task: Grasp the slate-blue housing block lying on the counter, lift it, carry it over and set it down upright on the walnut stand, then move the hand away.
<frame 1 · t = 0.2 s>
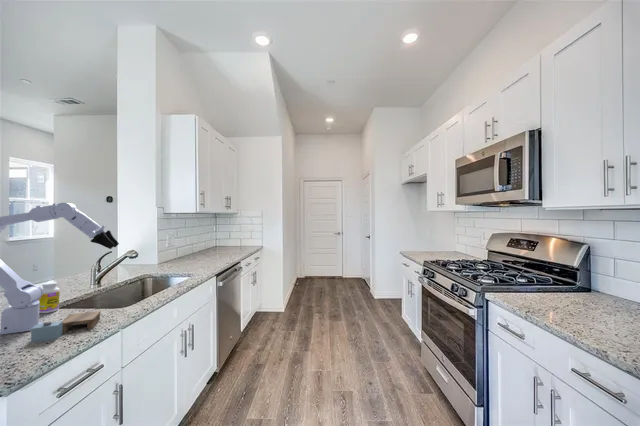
hand: (115, 246, 115), 31 cm above the countertop, tool tilted 45°, fingers open, 7 cm apart
stand: (81, 325, 107), on the countertop
housing: (47, 338, 96), on the countertop
supplement bottle: (49, 311, 121), on the countertop
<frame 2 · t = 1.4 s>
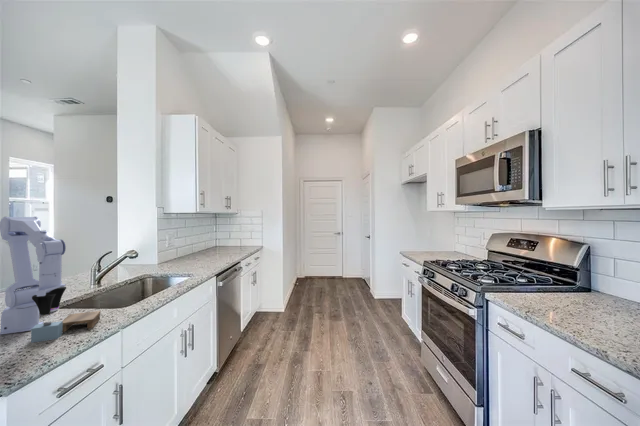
hand: (49, 311, 96), 10 cm above the countertop, tool pointing down, fingers open, 7 cm apart
nothing on the countertop moved.
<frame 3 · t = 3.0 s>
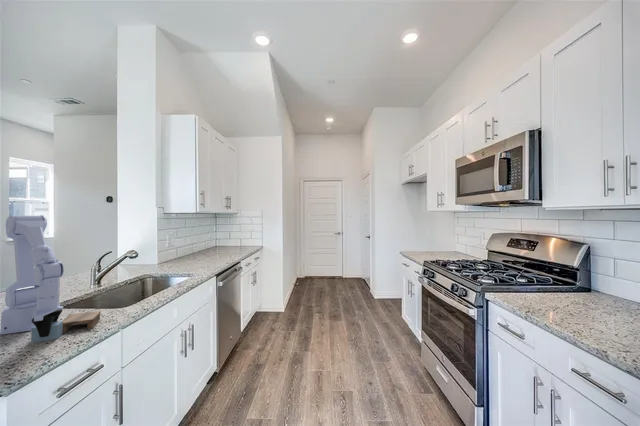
hand: (47, 333, 96), 2 cm above the countertop, tool pointing down, fingers closed on housing, 4 cm apart
housing: (47, 338, 96), on the countertop, touching gripper
everything else where it was.
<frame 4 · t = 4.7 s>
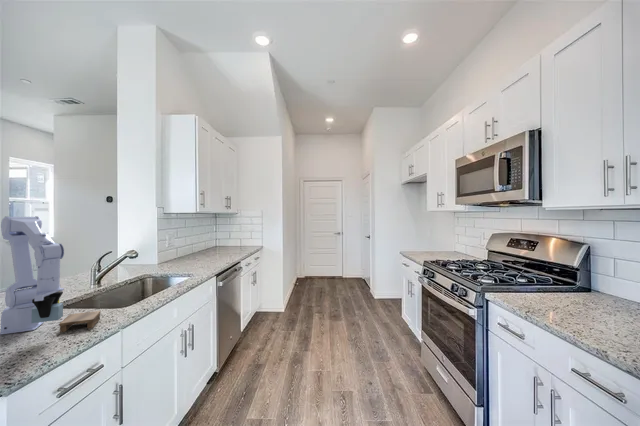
hand: (47, 315, 96), 8 cm above the countertop, tool pointing down, fingers closed on housing, 4 cm apart
housing: (47, 319, 96), point 7 cm above the countertop, touching gripper
everything else where it was.
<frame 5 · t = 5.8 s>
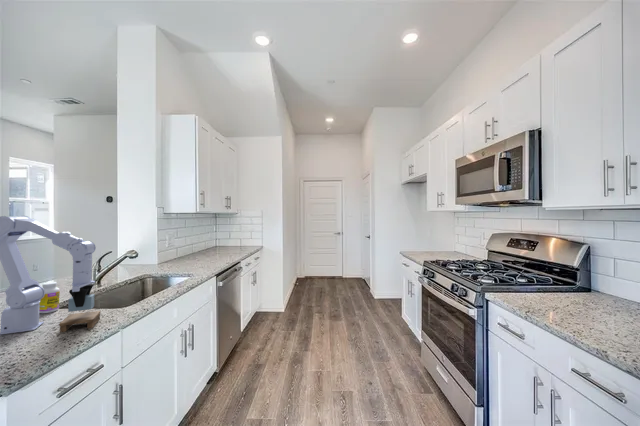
hand: (81, 304, 107), 8 cm above the countertop, tool pointing down, fingers closed on housing, 4 cm apart
housing: (81, 308, 107), point 7 cm above the countertop, touching gripper
everything else where it was.
when the fingers open (6 cm above the countertop, at t = 6.6 s): housing stays where it is, resting on stand.
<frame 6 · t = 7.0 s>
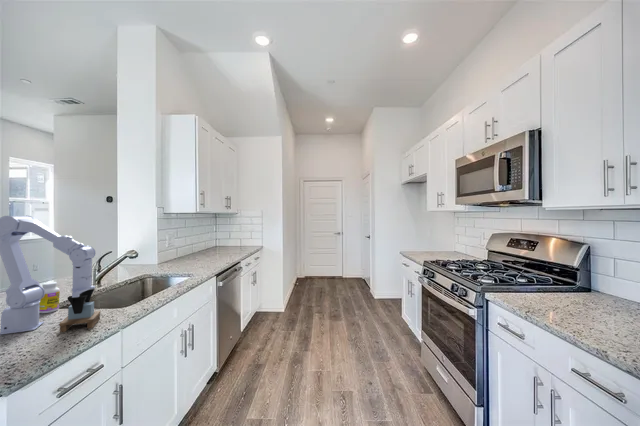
hand: (81, 310, 107), 6 cm above the countertop, tool pointing down, fingers open, 7 cm apart
housing: (81, 316, 107), point 3 cm above the countertop, touching stand
everything else where it was.
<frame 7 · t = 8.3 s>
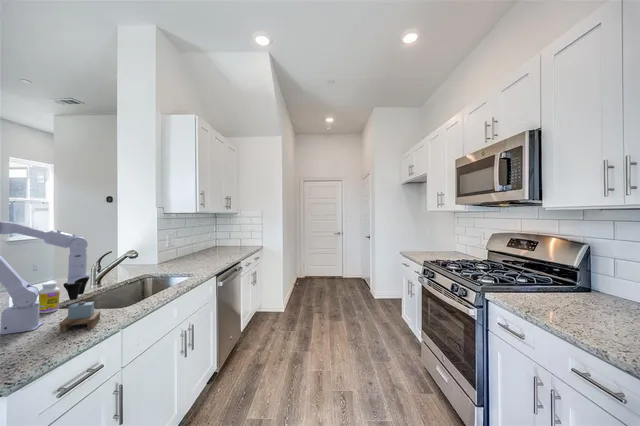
hand: (76, 296, 113), 9 cm above the countertop, tool pointing down, fingers open, 7 cm apart
nothing on the countertop moved.
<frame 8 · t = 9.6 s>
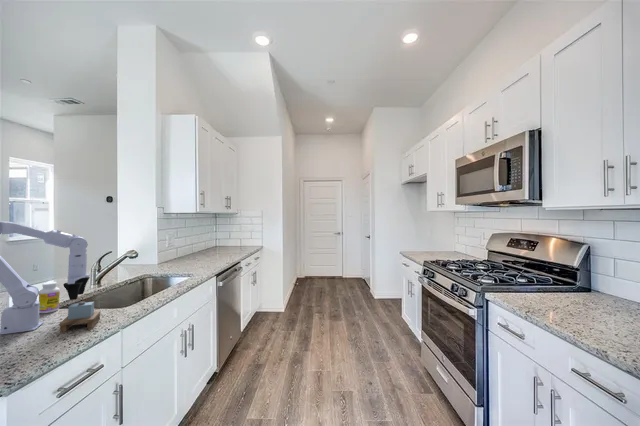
hand: (76, 296, 113), 9 cm above the countertop, tool pointing down, fingers open, 7 cm apart
nothing on the countertop moved.
at the end: housing 0.0 cm off-centre on the stand, point 3.5 cm above the stand's base; housing tilted 0°; the gripper is holding nothing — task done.
